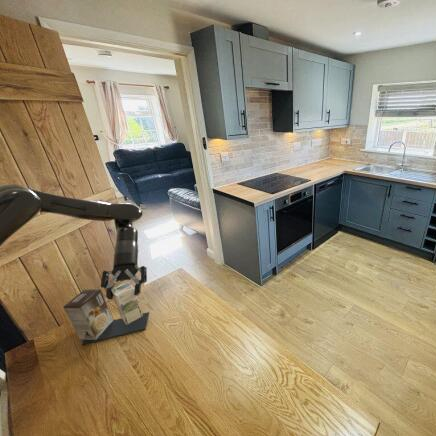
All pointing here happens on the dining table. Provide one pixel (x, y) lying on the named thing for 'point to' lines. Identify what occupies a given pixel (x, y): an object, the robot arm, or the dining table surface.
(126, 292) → the syrup box
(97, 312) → the coffee box
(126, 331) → the dark gray mat
